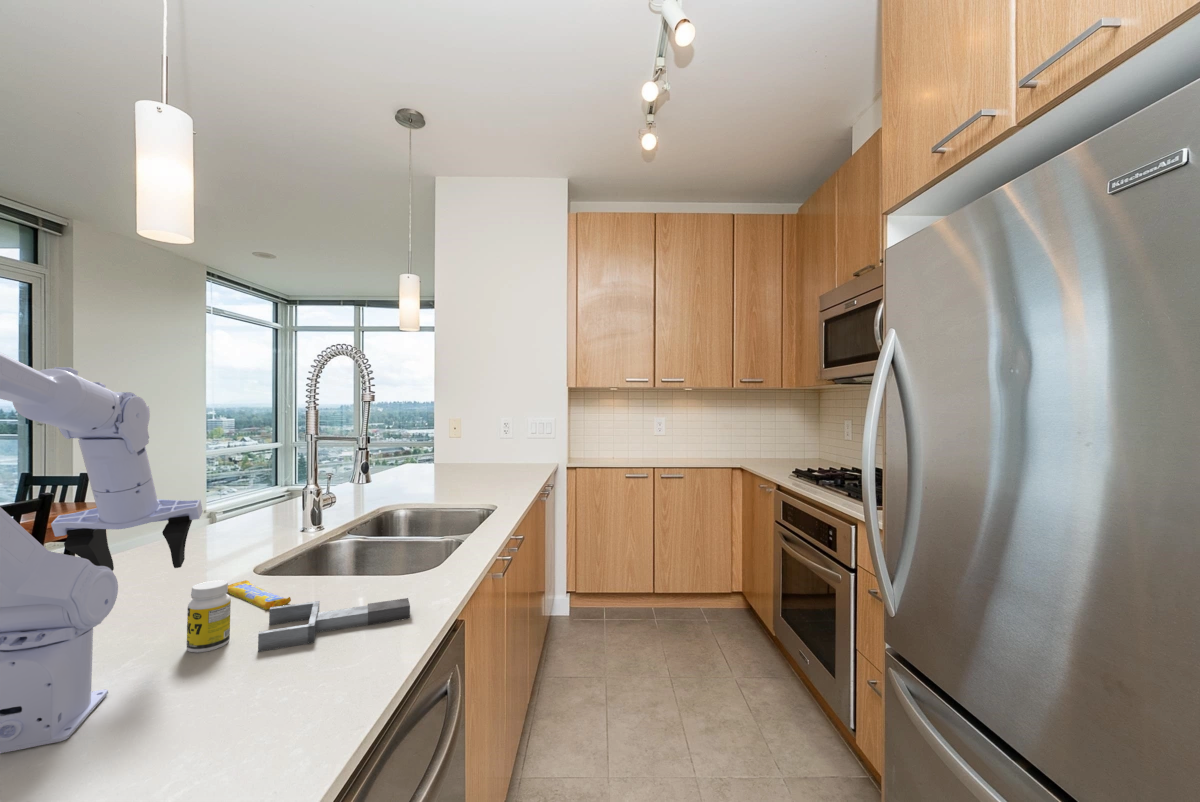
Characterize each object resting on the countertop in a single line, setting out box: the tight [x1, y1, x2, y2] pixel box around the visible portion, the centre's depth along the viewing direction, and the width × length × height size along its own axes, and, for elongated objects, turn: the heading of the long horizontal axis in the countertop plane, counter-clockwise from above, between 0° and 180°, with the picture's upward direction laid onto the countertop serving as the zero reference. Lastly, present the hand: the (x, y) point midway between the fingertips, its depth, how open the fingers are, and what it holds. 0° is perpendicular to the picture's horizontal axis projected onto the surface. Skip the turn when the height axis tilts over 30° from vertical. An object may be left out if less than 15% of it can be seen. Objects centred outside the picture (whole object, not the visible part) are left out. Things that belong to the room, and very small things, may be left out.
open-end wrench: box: [257, 597, 411, 653], centre depth 77 cm, size 10×20×2 cm, turn 115°
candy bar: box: [227, 579, 292, 611], centre depth 88 cm, size 17×4×2 cm, turn 57°
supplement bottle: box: [186, 579, 232, 654], centre depth 70 cm, size 5×5×8 cm
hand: (144, 568), depth 69 cm, fingers open, 7 cm apart
